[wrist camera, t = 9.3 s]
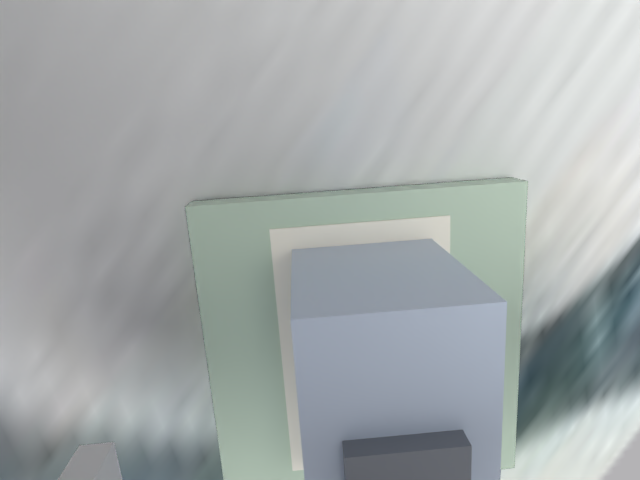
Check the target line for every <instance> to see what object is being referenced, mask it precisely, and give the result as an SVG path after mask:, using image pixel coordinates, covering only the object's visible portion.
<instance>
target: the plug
mask: <svg viewBox="0 0 640 480" xmlns="http://www.w3.org/2000/svg"><path fill="white" fill-rule="evenodd" d="M506 319H507V301H506V300H504V299H503V298H502V297H501V296H500V295H498V294H497V293H496V292H495V291H494V290H492V289H491V288H490V287H489V286H488V285H486V284H485V283H484V282H483V281H482V280H480V279H479V278H478V277H477V276H476V275H474V274H473V273H472V272H471V271H470V270H468V269H467V268H466V267H465V266H464V265H463V264H461V263H460V262H459V261H458V260H457V259H455V258H454V257H453V256H452V255H451V254H449V253H448V252H447V251H446V250H445V249H443V248H442V247H441V246H440V245H439V244H437V243H436V242H435V241H434V240H433V239H420V240H407V241H394V242H382V243H369V244H356V245H343V246H330V247H317V248H305V249H292V262H291V316H290V321H291V332H292V343H293V355H294V366H295V377H296V389H297V400H298V411H299V423H300V434H301V445H302V457H303V468H304V479H305V480H500V473H501V447H502V422H503V396H504V370H505V344H506Z"/></svg>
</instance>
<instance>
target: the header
mask: <svg viewBox="0 0 640 480" xmlns="http://www.w3.org/2000/svg"><path fill="white" fill-rule="evenodd" d="M527 190H528V181H525V180H521V179H517V178H512V177H511V178H498V179H484V180H471V181H457V182H444V183H430V184H417V185H403V186H390V187H377V188H363V189H350V190H336V191H323V192H309V193H296V194H282V195H269V196H255V197H242V198H228V199H215V200H201V201H192V202H191V203H189V204H188V205H187V206H185V211H186V218H187V225H188V232H189V239H190V246H191V253H192V260H193V267H194V274H195V281H196V288H197V295H198V302H199V309H200V316H201V323H202V330H203V337H204V345H205V352H206V359H207V366H208V373H209V380H210V387H211V394H212V401H213V408H214V415H215V422H216V429H217V436H218V443H219V450H220V457H221V464H222V471H223V478H224V480H305V479H304V468H303V457H302V445H301V434H300V423H299V411H298V400H297V389H296V377H295V366H294V355H293V343H292V332H291V321H290V316H291V262H292V249H305V248H317V247H330V246H343V245H356V244H369V243H382V242H394V241H407V240H420V239H433V240H434V241H435V242H436V243H437V244H439V245H440V246H441V247H442V248H443V249H445V250H446V251H447V252H448V253H449V254H451V255H452V256H453V257H454V258H455V259H457V260H458V261H459V262H460V263H461V264H463V265H464V266H465V267H466V268H467V269H468V270H470V271H471V272H472V273H473V274H474V275H476V276H477V277H478V278H479V279H480V280H482V281H483V282H484V283H485V284H486V285H488V286H489V287H490V288H491V289H492V290H494V291H495V292H496V293H497V294H498V295H500V296H501V297H502V298H503V299H504V300H506V301H507V319H506V344H505V370H504V396H503V422H502V447H501V469H511V468H515V447H516V425H517V404H518V383H519V361H520V340H521V318H522V297H523V276H524V254H525V233H526V212H527Z"/></svg>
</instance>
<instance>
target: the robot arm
mask: <svg viewBox="0 0 640 480" xmlns="http://www.w3.org/2000/svg"><path fill="white" fill-rule="evenodd" d="M58 480H122V475H121V471H120V466H119V462H118V458H117V453H116V449H115V444H114V442H107V443H97V444H87V445H79V447H78V448H77V450H76V451H75V453H74V455H73V456H72V458H71V459H70V461H69V463H68V464H67V466H66V467H65V469H64V471H63V472H62V474H61V475H60V477H59V479H58Z"/></svg>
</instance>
